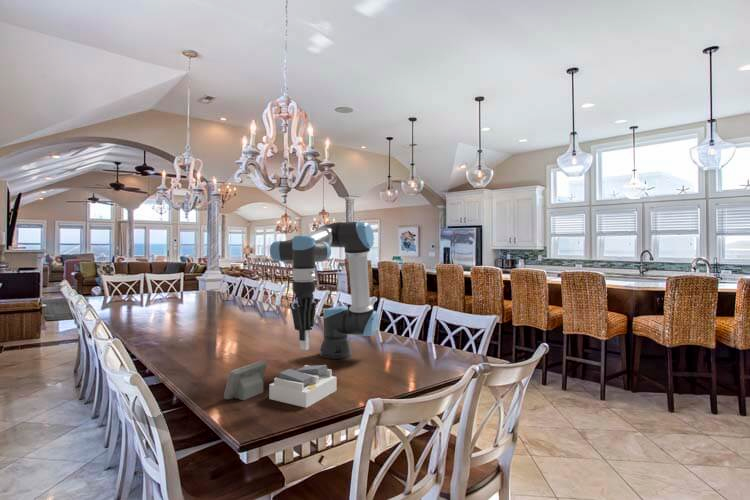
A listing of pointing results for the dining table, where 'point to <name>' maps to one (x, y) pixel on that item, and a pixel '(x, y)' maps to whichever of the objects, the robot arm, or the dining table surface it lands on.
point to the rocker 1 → (296, 376)
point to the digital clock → (245, 381)
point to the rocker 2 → (313, 369)
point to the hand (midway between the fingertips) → (304, 349)
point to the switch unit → (303, 389)
